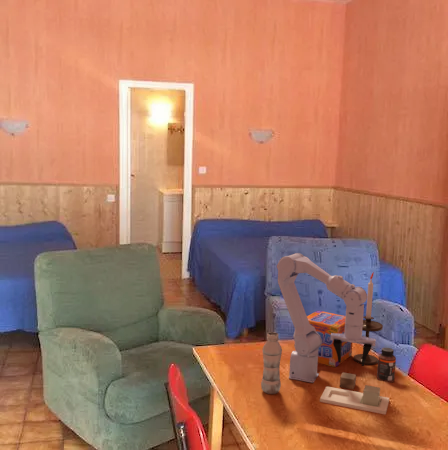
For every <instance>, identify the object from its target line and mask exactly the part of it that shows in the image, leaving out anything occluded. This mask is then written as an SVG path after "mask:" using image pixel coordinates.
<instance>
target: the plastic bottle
mask: <svg viewBox="0 0 448 450" xmlns="http://www.w3.org/2000/svg"><path fill="white" fill-rule="evenodd" d="M282 354H283V349H282V346H281V344H280V342H279V333H278V332H275V331H270V332H267V334H266V342H265V343H264V345H263V347H262V359H263V360H262V361H263V372H262V379H261V382H260V387H261V390H262V392H263V393H265V394H269V395H275V394H278V393H279V391H280V390H281V385H282V383H281V375H280V371H281V370H280V367H281V366H280V365H281V357H282Z"/></svg>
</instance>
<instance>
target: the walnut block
mask: <svg viewBox="0 0 448 450" xmlns="http://www.w3.org/2000/svg"><path fill="white" fill-rule="evenodd" d="M356 383H357V374H356V373H347V372H344V371H343V372H342V373H341V375H340V378H339V387H340V388H341V389H342V388H344V389H347V390H354V389H355V386H356Z"/></svg>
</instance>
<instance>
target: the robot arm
mask: <svg viewBox="0 0 448 450" xmlns="http://www.w3.org/2000/svg"><path fill="white" fill-rule="evenodd" d="M276 268H277V283H278V287H279V290H280V292H281V295H282V297H283V300H284V304H285V306H286V308H287V311H288V313H289V317H290V319H291V322H292V325H293V327H294V333H293V336H292V337H293V340H294V350H292V352H291V354H290V359H289V374H288V379H291V380H296V381H301V382H305V383H312V384H314V383H315V381H316V380H317V378H318V376H319V373H318V365H319V363H318V348H319V347H320V346H321V344H322V339H321V337H320V335H319V334H318V333H317V332H316V330H315V328H314V327H313V326H312V325H310V324H309V321H308V318H307V316H308V315H307V313H306V311H305V308H304V306H303V303H302V302H303V301H302V300H301V297H300V294H299V292H298V290H297V289H298V288H297V286H296V284H295V282H296V279H297V277H298V275H299V274H307V275H309V276H311V277H312V278H314V279H316V280H318V281H320V282H321V283H323V284H325V285H326V289H327V291H329V292H331V293H333V294H334V295H336V296H337V297H339V298H340V299H342V300H343V302H344V304H345V316H346V317H345V332H344V334H337V333H331V337H330V340H334V342H333V345H334V347H335V350H336V353H337V357H338V362H339V363H340V362H341V347H342V341H345V342H351V343H352V344H353V343H354V344H358V345H359V344H360V345H363V347H362V354H363V359H362V364H361V367H364V366H365V365H364V362H365V359H366V357H367V355H368V354H369V353H370V351H371V350H372V347H376V338H372V337H369V338H368V337H366V336H365V335H364V336H363V330H362V328H363V320H364V318H363V317H364V312H365V311H364V310H365V308H364V307H365V303H366V302H367V295H368V292H367V291H366V290H365V289H364V288H363V287H361V286H356V285H355V284H353V283H352V284H351V283H350V282H348V281H347V280H345V279H343V278H344V277H343V276H342V275H337V274H335V275H331V274H329V273H328V272H326V271H325V270H324V269H323V268H321V267H320V266H318V265H317V264H316V263H314V262H313V261H312V260H311V259H309V257H307V256H304V254H302V253H300V252H295V253H294V254H290V255H284V256H283V257H281V258H280V259H279V260H278V262H277V265H276Z"/></svg>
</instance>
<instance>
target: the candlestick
mask: <svg viewBox="0 0 448 450" xmlns="http://www.w3.org/2000/svg"><path fill="white" fill-rule="evenodd" d="M373 277H374V271H372V273H371V275H370V278H369V279H370V280H369V282H367V283H368V284H367V300H366V311H365V313H366V314H365V315H363V328H362V332H363V331H364V332H365V337H368V338H370V332H371V333H372V332H380V331H381V332H382V330H383V327H384V326H383V324H382V323H381V322H378V321H374V319H375V317H374V316H372V307H373V293H374V283H373ZM362 359H363V353H357V354H355V355H353V361H354V362H356V363H357V364H360V365H362ZM373 365H378V357H376V356H374V355H372V354H369V353H368V355H367V357H366V359H365V362H364V366H373Z"/></svg>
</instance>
